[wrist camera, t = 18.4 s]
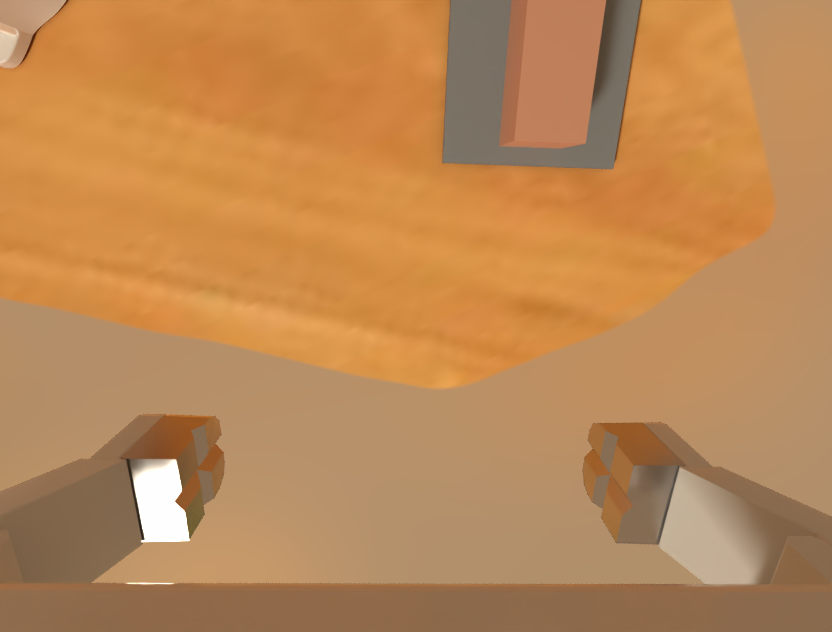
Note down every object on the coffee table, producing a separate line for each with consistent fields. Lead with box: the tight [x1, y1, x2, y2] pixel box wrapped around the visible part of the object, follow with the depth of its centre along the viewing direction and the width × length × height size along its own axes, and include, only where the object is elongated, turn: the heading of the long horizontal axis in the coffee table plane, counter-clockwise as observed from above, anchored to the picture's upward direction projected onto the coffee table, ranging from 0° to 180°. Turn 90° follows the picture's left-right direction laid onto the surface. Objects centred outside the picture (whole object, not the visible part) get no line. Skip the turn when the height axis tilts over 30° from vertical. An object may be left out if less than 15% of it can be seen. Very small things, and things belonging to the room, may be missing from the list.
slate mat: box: [442, 0, 641, 169], centre depth 33 cm, size 14×16×1 cm
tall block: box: [499, 0, 606, 149], centre depth 30 cm, size 5×5×12 cm
